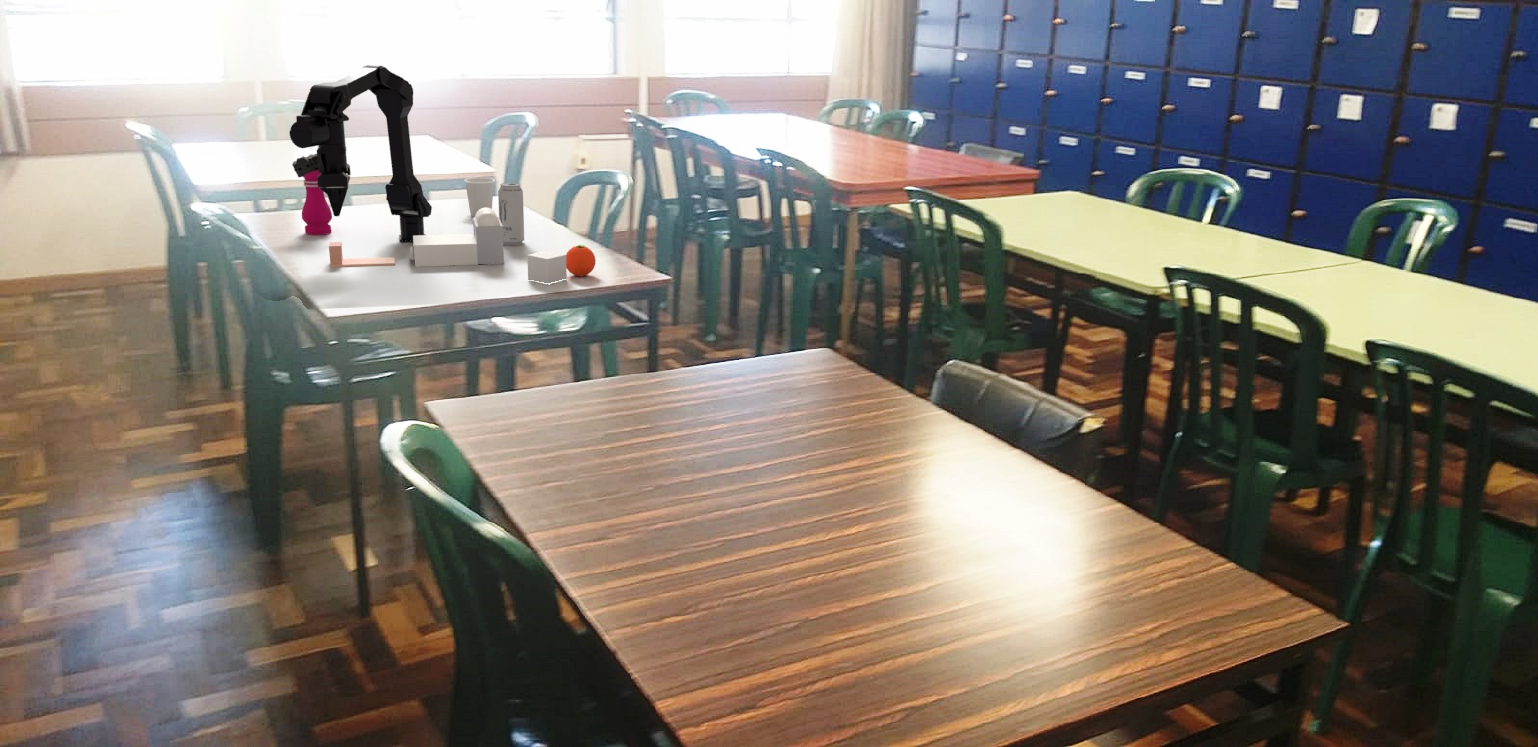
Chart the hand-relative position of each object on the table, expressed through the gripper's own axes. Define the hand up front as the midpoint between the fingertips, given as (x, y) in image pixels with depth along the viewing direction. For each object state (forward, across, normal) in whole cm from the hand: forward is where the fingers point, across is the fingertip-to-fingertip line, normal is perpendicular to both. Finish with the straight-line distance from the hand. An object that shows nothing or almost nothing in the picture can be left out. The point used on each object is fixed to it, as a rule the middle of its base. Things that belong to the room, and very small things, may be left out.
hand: (337, 212), depth 262 cm
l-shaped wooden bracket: (+12, +1, +5) cm, 13 cm away
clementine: (+12, +20, +52) cm, 57 cm away
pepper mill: (+12, -35, -7) cm, 38 cm away
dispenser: (+12, +1, +26) cm, 29 cm away
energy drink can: (+12, -16, +40) cm, 45 cm away
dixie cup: (+12, -55, +35) cm, 67 cm away
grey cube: (+12, +24, +44) cm, 52 cm away
